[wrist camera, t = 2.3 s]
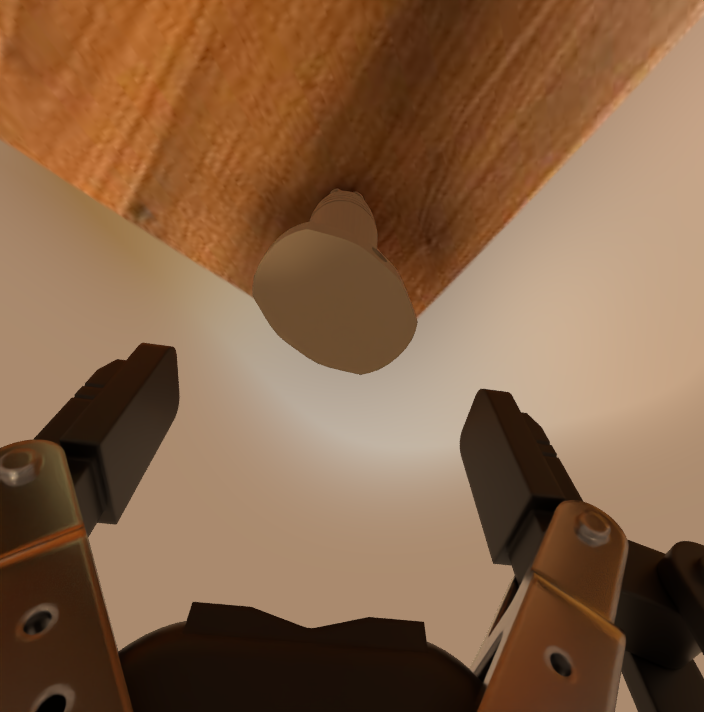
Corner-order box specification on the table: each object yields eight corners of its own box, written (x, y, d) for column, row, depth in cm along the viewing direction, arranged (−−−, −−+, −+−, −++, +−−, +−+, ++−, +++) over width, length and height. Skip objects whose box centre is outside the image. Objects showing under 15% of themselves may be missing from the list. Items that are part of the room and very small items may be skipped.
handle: (356, 267, 31) (357, 393, 18) (284, 207, 28) (228, 301, 16) (403, 216, 29) (442, 316, 16) (330, 147, 27) (308, 199, 14)
